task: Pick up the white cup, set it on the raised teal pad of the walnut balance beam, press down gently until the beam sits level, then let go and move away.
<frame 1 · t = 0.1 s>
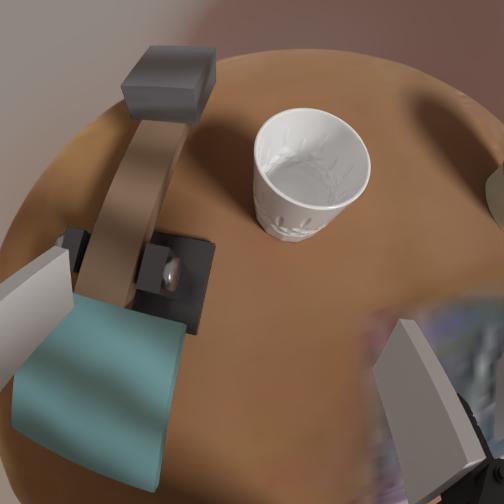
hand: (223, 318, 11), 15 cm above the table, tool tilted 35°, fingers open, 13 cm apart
white cup: (289, 208, 28), on the table
reusable coffee cup: (503, 204, 31), on the table
balance beam: (109, 229, 18), point 9 cm above the table, hinge at 6.0°
beam stand: (142, 275, 26), on the table
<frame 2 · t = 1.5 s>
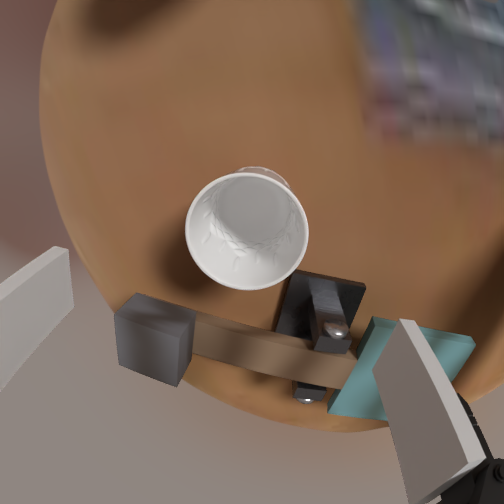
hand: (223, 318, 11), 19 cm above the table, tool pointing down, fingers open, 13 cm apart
white cup: (255, 200, 28), on the table
balance beam: (303, 376, 25), point 9 cm above the table, hinge at 6.0°
beam stand: (313, 322, 33), on the table
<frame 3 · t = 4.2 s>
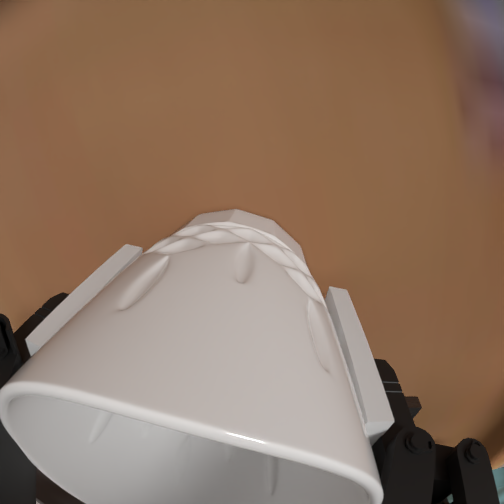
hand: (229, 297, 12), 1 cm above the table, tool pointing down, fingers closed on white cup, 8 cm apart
white cup: (233, 281, 13), on the table, touching gripper
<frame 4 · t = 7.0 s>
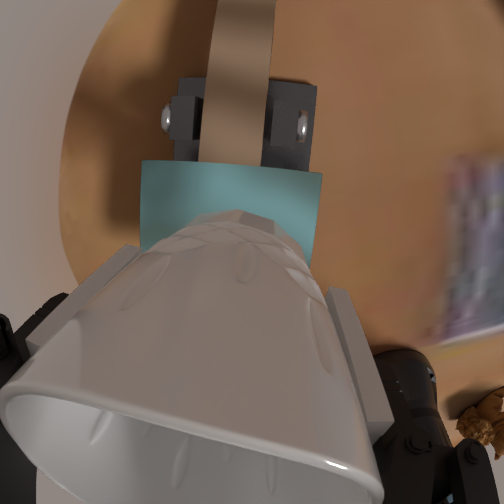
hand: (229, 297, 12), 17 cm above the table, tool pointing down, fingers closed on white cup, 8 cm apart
white cup: (233, 281, 13), point 16 cm above the table, touching gripper
stuffed squirrel: (477, 406, 40), on the table
balance beam: (232, 92, 16), point 9 cm above the table, hinge at 6.0°
beam stand: (243, 122, 25), on the table
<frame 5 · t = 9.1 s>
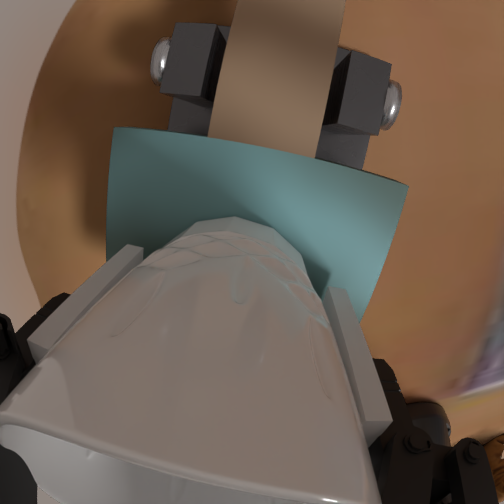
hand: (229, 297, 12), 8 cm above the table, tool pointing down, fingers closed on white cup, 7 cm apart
white cup: (232, 289, 13), point 8 cm above the table, touching balance beam, gripper
stuffed squirrel: (477, 451, 33), on the table
balance beam: (285, 24, 8), point 9 cm above the table, hinge at 0.0°, touching white cup
beam stand: (275, 96, 16), on the table
when the fingers open (8 cm above the table, at t = 10.1 s): white cup stays where it is, resting on balance beam.
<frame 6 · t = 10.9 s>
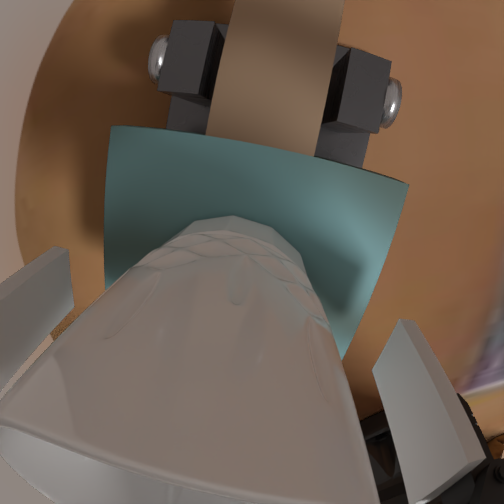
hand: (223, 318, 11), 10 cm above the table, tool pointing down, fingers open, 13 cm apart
white cup: (230, 289, 13), point 8 cm above the table, touching balance beam
stuffed squirrel: (477, 451, 33), on the table
balance beam: (284, 21, 7), point 9 cm above the table, hinge at 0.0°, touching white cup
beam stand: (274, 94, 16), on the table
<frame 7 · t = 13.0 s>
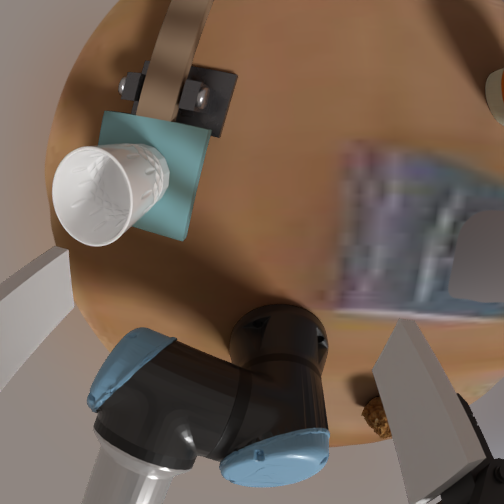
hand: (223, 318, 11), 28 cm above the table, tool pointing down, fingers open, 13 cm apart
white cup: (141, 174, 29), point 8 cm above the table, touching balance beam
stuffed squirrel: (388, 399, 51), on the table
reusable coffee cup: (503, 98, 27), on the table
balance beam: (159, 74, 24), point 9 cm above the table, hinge at 0.0°, touching white cup
beam stand: (182, 96, 33), on the table
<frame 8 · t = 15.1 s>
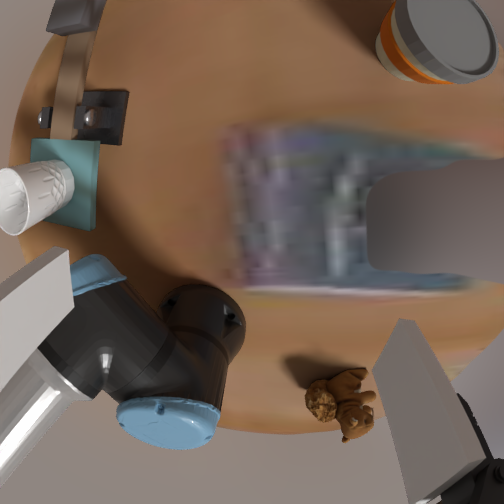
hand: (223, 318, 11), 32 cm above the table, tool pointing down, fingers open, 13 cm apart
white cup: (58, 183, 34), point 8 cm above the table, touching balance beam
stuffed squirrel: (334, 383, 54), on the table
reusable coffee cup: (403, 53, 31), on the table
balance beam: (58, 106, 28), point 9 cm above the table, hinge at 0.0°, touching white cup
beam stand: (92, 117, 37), on the table
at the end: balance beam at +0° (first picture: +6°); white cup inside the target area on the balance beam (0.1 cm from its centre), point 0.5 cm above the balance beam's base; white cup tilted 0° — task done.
